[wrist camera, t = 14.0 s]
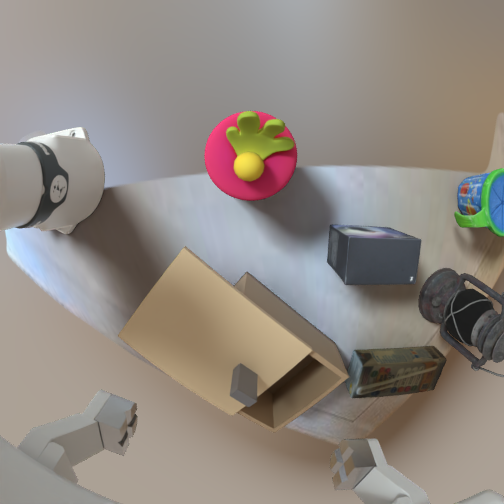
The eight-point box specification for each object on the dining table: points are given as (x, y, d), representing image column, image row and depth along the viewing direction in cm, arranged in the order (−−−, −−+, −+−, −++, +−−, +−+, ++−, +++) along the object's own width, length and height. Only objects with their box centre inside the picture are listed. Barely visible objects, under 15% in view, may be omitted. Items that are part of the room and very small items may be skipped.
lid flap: (119, 333, 36) (100, 356, 30) (185, 246, 33) (169, 260, 27) (232, 412, 39) (228, 442, 33) (311, 347, 36) (319, 375, 30)
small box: (391, 225, 42) (424, 237, 32) (386, 264, 44) (416, 286, 33) (329, 222, 42) (349, 234, 32) (326, 263, 44) (344, 287, 34)
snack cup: (486, 158, 38) (521, 158, 28) (497, 209, 40) (532, 217, 30) (432, 182, 40) (469, 185, 30) (447, 239, 42) (482, 253, 32)
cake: (291, 195, 41) (307, 202, 27) (219, 199, 42) (197, 209, 27) (286, 125, 39) (300, 96, 24) (214, 130, 39) (191, 104, 25)
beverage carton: (352, 346, 48) (363, 367, 41) (434, 343, 47) (450, 359, 41) (342, 380, 49) (351, 402, 43) (422, 374, 49) (435, 392, 43)
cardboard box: (186, 337, 48) (172, 370, 38) (247, 271, 44) (243, 296, 35) (272, 395, 50) (274, 432, 41) (334, 342, 47) (349, 376, 37)
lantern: (430, 258, 43) (557, 335, 14) (468, 267, 43) (581, 333, 14) (409, 323, 46) (501, 431, 17) (448, 326, 46) (537, 415, 17)
